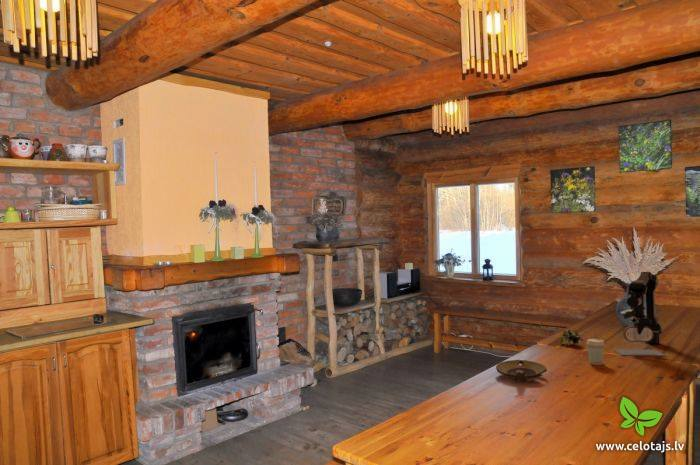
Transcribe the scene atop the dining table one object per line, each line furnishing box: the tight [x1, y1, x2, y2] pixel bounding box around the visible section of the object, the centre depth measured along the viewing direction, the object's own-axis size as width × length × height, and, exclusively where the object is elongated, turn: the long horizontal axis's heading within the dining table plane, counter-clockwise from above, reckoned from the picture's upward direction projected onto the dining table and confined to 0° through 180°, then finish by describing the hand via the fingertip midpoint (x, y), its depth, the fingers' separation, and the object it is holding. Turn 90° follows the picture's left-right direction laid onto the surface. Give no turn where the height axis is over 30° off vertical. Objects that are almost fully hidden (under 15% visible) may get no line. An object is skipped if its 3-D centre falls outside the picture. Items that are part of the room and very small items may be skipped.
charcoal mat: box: [612, 348, 666, 357], centre depth 283 cm, size 22×12×1 cm, turn 82°
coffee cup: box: [586, 338, 606, 366], centre depth 264 cm, size 8×8×12 cm
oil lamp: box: [495, 359, 548, 383], centre depth 242 cm, size 22×30×8 cm
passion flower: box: [557, 328, 584, 346], centre depth 304 cm, size 11×11×12 cm
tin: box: [622, 325, 654, 343], centre depth 283 cm, size 15×3×8 cm, turn 81°
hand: (638, 333), depth 283 cm, fingers closed on tin, 2 cm apart
